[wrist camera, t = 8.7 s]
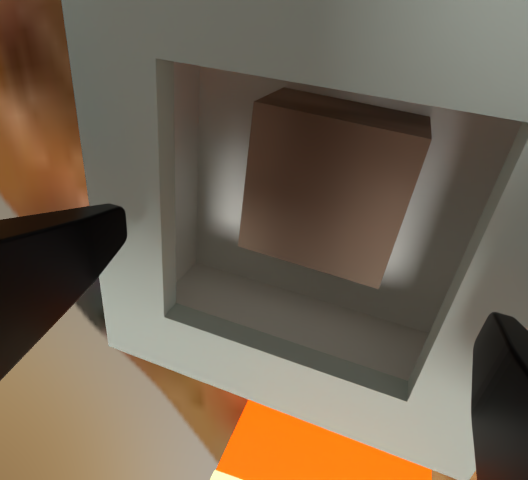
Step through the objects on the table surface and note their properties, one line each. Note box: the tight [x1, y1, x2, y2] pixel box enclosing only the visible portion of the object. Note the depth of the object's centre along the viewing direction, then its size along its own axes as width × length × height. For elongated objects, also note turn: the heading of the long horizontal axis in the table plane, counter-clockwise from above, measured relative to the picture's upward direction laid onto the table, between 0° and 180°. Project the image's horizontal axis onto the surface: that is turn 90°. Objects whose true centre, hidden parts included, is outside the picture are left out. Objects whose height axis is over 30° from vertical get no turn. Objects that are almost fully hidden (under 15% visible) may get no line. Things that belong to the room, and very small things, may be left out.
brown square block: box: [238, 87, 432, 289], centre depth 13 cm, size 5×5×3 cm
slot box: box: [61, 0, 528, 480], centre depth 13 cm, size 13×13×6 cm
